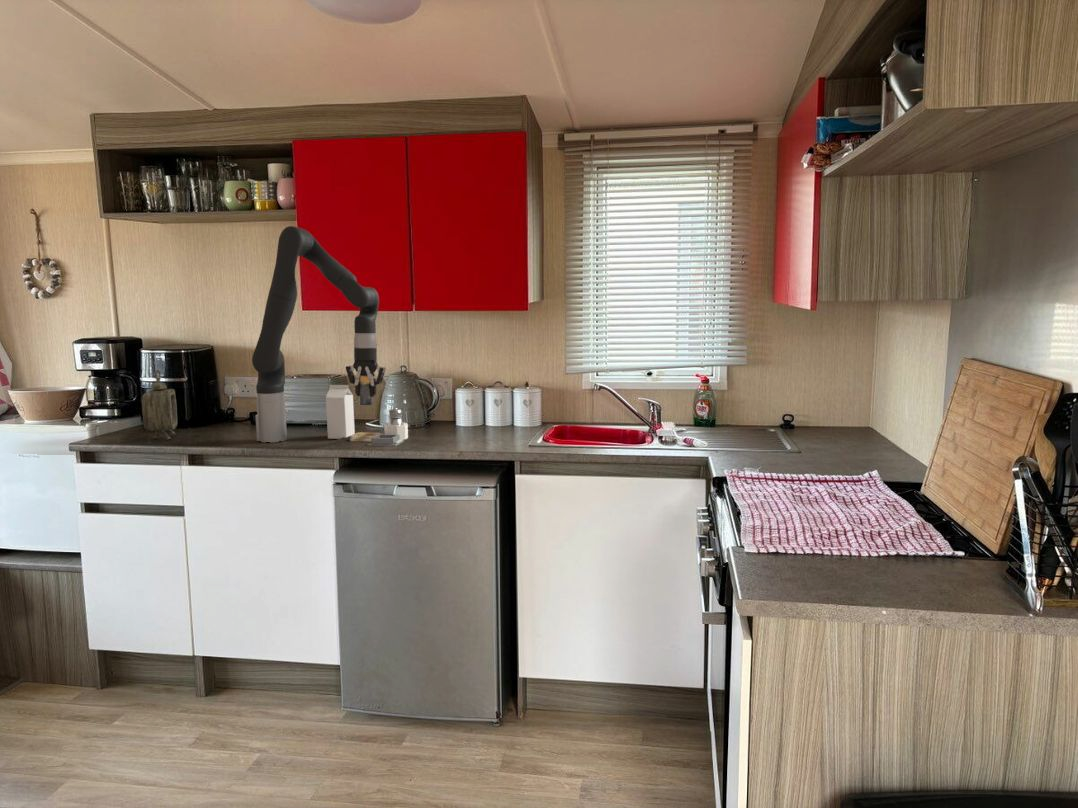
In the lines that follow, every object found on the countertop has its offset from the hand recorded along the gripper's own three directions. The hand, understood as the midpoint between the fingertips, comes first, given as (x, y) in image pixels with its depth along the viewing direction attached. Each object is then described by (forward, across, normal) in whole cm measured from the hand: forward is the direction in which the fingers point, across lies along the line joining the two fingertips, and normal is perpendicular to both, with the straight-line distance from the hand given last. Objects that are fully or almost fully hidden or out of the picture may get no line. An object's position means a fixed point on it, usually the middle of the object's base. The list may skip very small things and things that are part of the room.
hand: (365, 396), depth 268 cm
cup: (+16, +9, +6) cm, 19 cm away
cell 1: (+3, 0, 0) cm, 3 cm away
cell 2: (+15, +9, +6) cm, 18 cm away
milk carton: (+17, -13, +9) cm, 23 cm away
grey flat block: (+16, +9, -4) cm, 19 cm away
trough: (+16, -1, +2) cm, 16 cm away
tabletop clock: (+19, -78, -1) cm, 80 cm away
